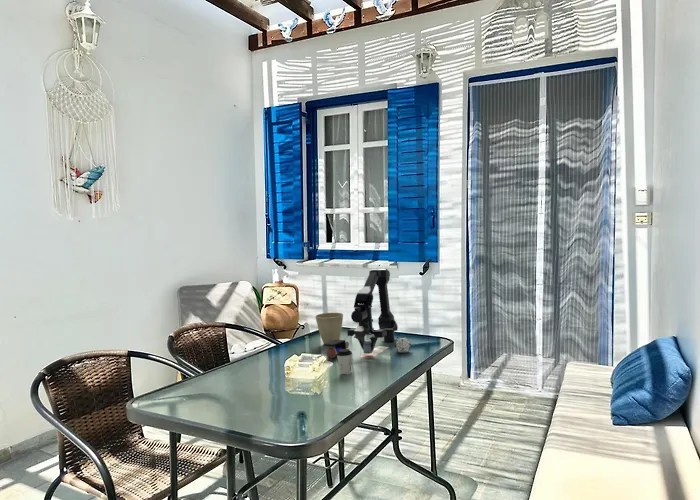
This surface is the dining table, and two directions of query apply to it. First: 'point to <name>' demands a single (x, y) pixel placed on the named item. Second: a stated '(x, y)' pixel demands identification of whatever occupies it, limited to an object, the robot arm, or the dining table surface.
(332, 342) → the figurine character
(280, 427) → the dining table surface
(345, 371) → the coffee cup
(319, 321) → the plant pot
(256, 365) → the dining table surface
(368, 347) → the pawn
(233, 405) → the dining table surface
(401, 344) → the game die
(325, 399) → the dining table surface
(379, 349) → the board
